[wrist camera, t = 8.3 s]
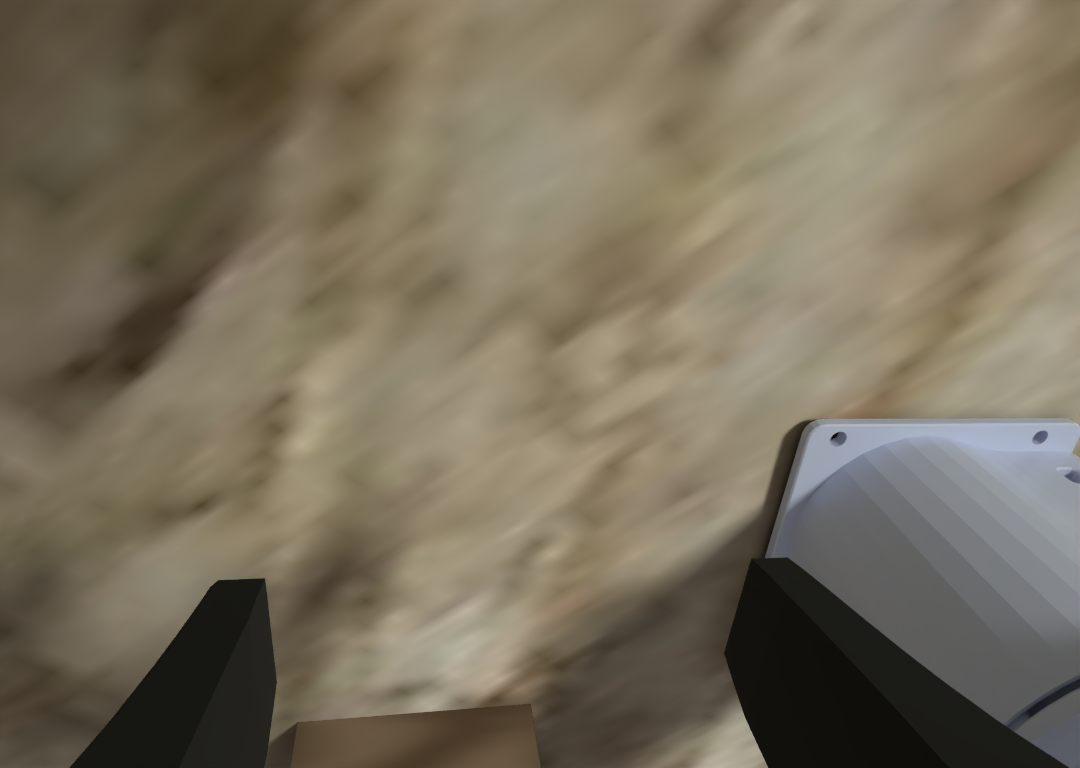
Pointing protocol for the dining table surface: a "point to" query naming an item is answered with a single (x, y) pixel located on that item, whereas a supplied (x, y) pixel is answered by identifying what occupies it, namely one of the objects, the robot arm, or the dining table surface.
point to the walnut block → (421, 740)
